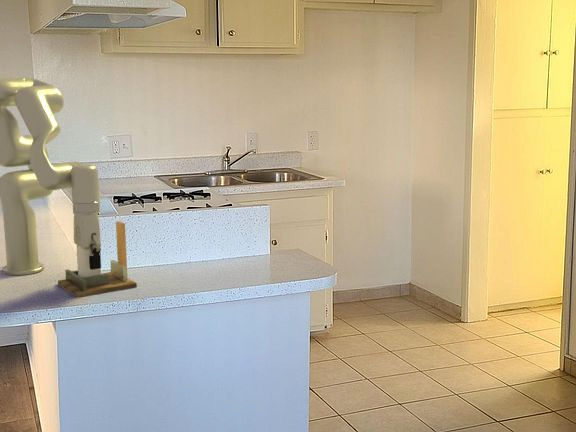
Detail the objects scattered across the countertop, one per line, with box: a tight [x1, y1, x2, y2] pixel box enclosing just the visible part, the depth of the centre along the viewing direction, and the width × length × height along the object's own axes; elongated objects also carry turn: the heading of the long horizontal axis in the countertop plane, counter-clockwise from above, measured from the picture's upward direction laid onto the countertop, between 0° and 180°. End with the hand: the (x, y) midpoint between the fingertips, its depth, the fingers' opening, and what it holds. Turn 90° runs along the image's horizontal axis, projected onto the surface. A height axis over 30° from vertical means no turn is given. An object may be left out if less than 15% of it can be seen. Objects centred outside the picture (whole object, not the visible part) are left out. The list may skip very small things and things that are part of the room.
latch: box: [110, 220, 128, 281], centre depth 233 cm, size 10×2×16 cm, turn 34°
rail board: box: [57, 271, 138, 298], centre depth 230 cm, size 16×18×1 cm
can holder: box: [64, 269, 109, 292], centre depth 228 cm, size 15×9×3 cm, turn 34°
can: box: [76, 244, 102, 278], centre depth 228 cm, size 6×6×12 cm
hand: (89, 265), depth 228 cm, fingers open, 9 cm apart
